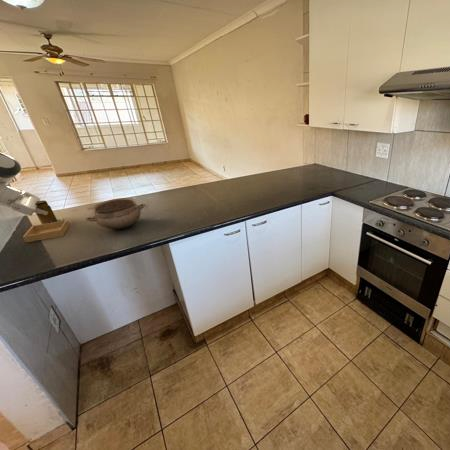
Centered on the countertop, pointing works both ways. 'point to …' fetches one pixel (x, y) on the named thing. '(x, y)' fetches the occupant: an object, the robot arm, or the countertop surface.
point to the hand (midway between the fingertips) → (48, 211)
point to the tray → (46, 231)
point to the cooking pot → (116, 213)
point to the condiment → (50, 216)
